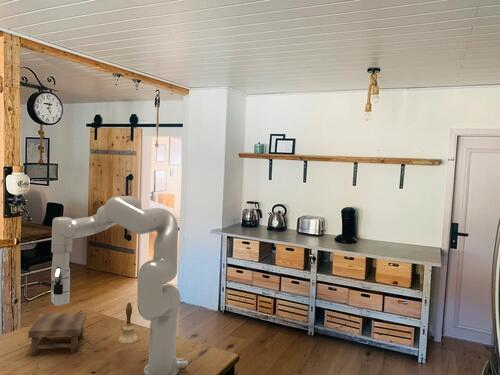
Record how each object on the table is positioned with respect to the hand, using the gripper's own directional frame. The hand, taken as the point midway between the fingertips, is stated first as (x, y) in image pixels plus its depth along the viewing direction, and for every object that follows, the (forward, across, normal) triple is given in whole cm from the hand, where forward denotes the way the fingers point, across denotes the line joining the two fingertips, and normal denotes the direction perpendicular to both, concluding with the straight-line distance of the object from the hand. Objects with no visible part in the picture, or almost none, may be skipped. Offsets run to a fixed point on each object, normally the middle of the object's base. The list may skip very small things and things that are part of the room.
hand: (60, 290), depth 160 cm
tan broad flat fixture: (+22, 0, 0) cm, 22 cm away
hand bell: (+23, -2, +27) cm, 35 cm away
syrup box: (+5, 0, 0) cm, 5 cm away
